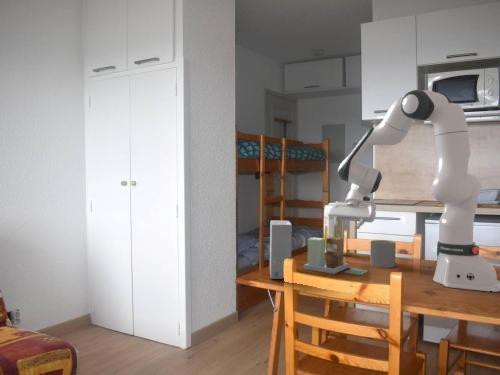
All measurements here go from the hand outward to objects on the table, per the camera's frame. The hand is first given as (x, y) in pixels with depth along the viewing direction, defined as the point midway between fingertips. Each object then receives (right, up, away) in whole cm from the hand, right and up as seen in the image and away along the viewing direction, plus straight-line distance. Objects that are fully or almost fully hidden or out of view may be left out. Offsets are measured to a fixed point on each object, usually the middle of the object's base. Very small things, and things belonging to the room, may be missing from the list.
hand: (346, 227), depth 186 cm
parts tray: (-10, -16, -9) cm, 21 cm away
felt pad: (+1, -16, -14) cm, 22 cm away
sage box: (-14, -16, -10) cm, 23 cm away
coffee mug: (+16, -16, 0) cm, 23 cm away
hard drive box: (-29, -17, -17) cm, 38 cm away
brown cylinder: (-6, -16, -8) cm, 19 cm away
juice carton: (-1, -15, +24) cm, 28 cm away
